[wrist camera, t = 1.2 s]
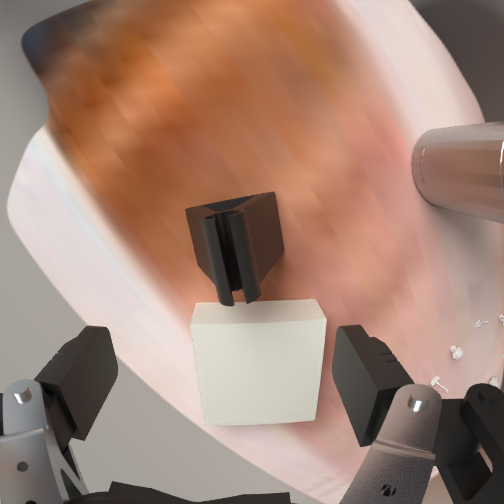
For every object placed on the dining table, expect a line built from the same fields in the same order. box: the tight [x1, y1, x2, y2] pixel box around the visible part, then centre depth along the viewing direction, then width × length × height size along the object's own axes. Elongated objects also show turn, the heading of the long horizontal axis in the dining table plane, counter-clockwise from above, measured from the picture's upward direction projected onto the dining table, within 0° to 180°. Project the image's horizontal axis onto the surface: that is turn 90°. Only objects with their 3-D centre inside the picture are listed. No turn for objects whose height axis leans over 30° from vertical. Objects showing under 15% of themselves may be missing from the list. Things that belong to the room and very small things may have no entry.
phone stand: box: [185, 192, 284, 307], centre depth 26 cm, size 9×6×12 cm, turn 100°
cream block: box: [190, 299, 327, 425], centre depth 33 cm, size 13×14×5 cm
